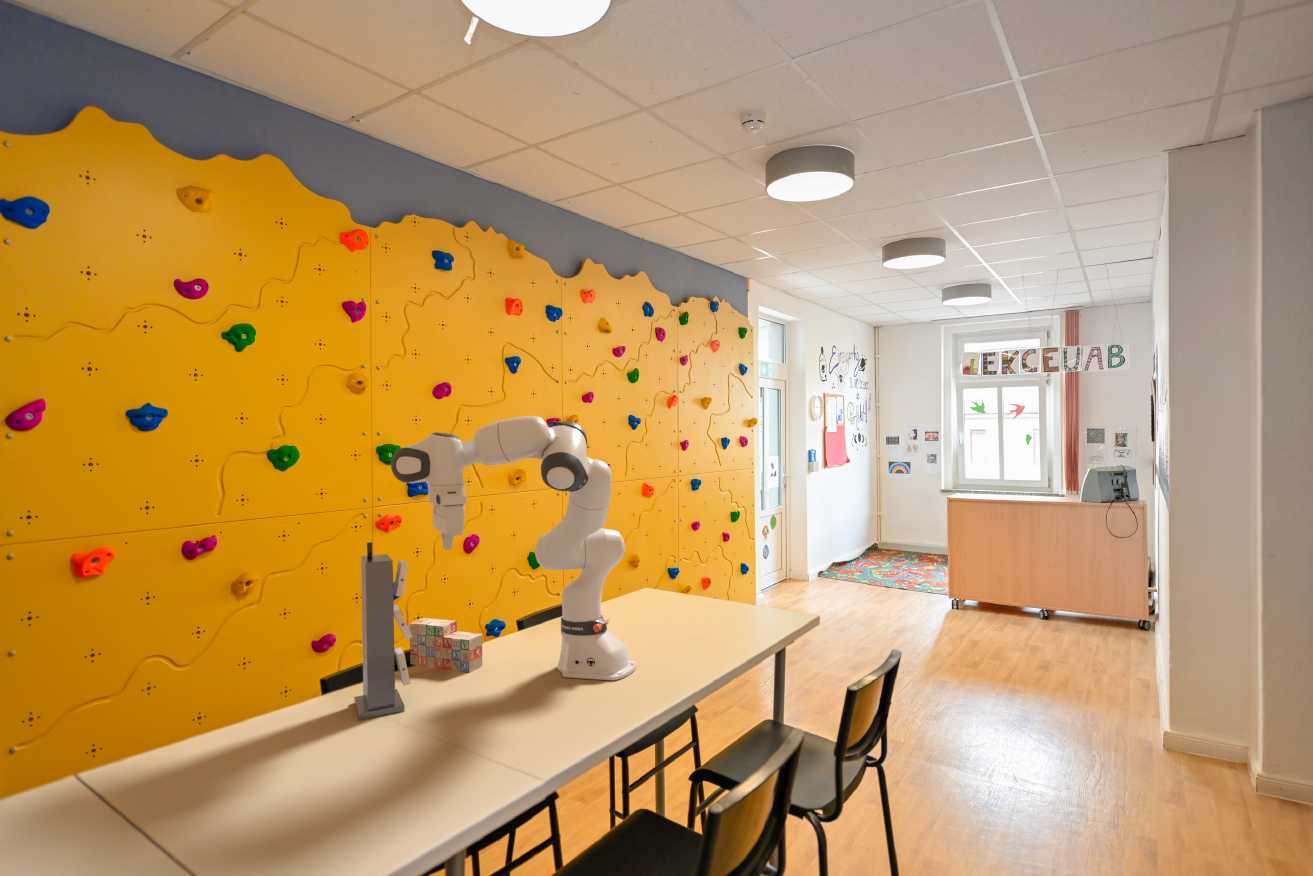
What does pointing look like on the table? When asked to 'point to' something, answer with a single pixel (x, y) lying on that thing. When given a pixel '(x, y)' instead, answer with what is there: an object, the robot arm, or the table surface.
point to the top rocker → (400, 578)
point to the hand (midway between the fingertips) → (447, 549)
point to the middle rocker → (402, 622)
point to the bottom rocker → (402, 666)
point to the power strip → (377, 639)
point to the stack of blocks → (444, 645)
